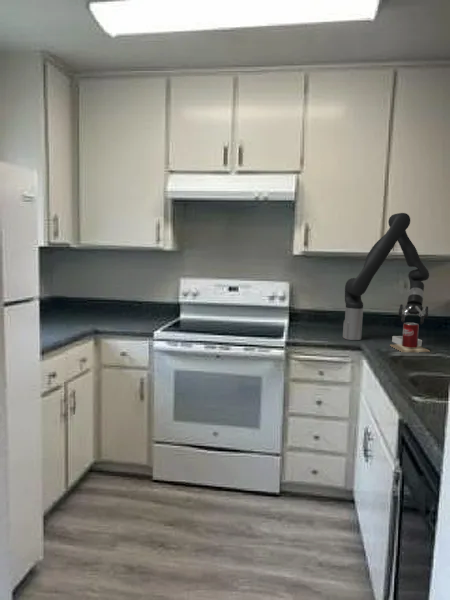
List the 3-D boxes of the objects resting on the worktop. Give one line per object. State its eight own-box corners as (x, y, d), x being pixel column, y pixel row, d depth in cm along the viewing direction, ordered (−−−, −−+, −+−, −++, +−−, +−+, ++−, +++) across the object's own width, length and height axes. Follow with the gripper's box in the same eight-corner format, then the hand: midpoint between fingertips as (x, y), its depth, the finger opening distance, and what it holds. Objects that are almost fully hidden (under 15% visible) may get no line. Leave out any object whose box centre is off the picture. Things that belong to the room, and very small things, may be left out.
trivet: (402, 352, 238) (402, 350, 238) (389, 346, 252) (390, 344, 252) (429, 352, 239) (429, 350, 239) (416, 346, 253) (416, 344, 253)
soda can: (409, 349, 241) (410, 325, 239) (398, 346, 248) (400, 322, 246) (420, 348, 244) (422, 324, 242) (410, 345, 250) (411, 322, 249)
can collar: (401, 345, 253) (401, 340, 253) (392, 341, 264) (392, 336, 264) (421, 346, 254) (422, 340, 254) (411, 341, 265) (412, 336, 265)
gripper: (401, 292, 260) (397, 316, 251) (430, 294, 254) (427, 319, 245) (401, 301, 265) (397, 325, 256) (429, 303, 259) (426, 328, 250)
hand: (412, 322), depth 251 cm, fingers open, 8 cm apart
